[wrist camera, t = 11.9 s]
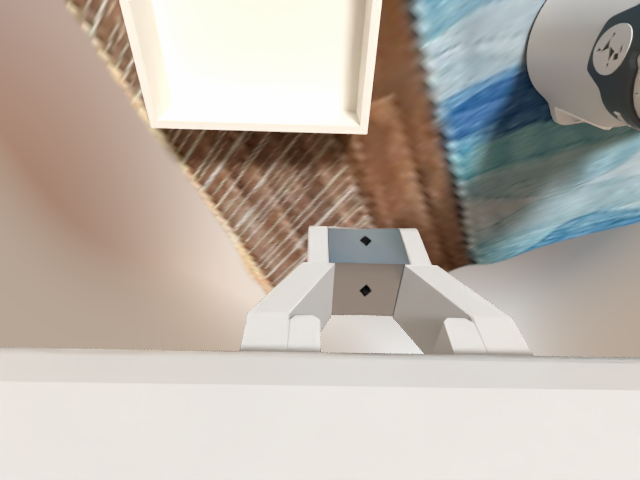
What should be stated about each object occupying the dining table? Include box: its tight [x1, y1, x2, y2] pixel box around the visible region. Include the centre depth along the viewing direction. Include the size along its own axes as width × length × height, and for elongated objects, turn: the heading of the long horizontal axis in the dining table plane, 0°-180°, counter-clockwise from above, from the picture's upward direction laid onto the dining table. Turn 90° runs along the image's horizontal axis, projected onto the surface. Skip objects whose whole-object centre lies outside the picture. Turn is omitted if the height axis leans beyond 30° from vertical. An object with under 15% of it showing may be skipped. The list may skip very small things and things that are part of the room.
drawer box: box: [119, 0, 382, 134], centre depth 34 cm, size 18×22×7 cm
